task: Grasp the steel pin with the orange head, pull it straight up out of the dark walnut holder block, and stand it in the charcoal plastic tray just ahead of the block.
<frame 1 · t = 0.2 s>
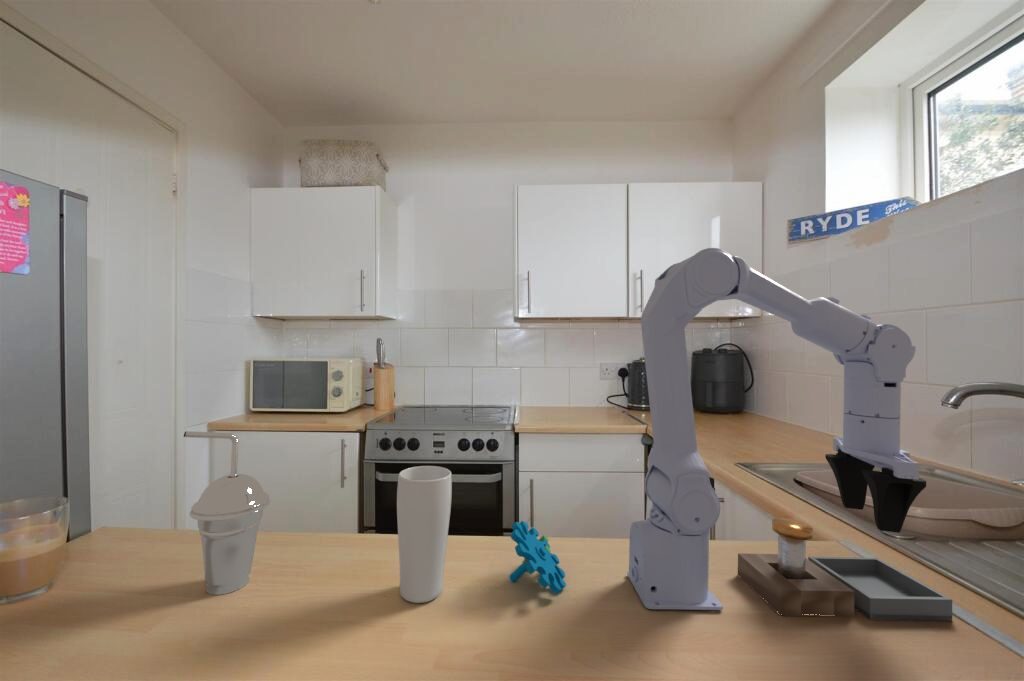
hand: (869, 518, 54), 10 cm above the table, tool pointing down, fingers open, 7 cm apart
tray: (873, 595, 54), on the table
pin: (791, 559, 54), in the holder block
gear: (537, 583, 55), on the table
holder block: (791, 594, 54), on the table
drinking glass: (421, 594, 52), on the table
drinking straw: (225, 586, 52), on the table
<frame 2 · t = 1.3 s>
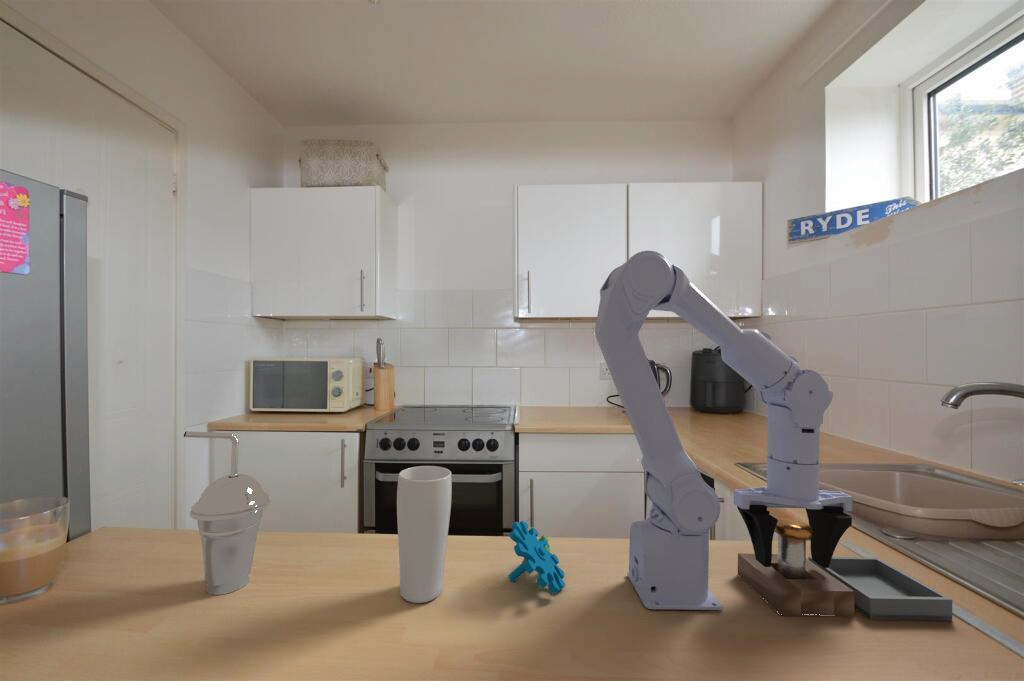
hand: (791, 563, 54), 4 cm above the table, tool pointing down, fingers open, 7 cm apart
nothing on the table moved.
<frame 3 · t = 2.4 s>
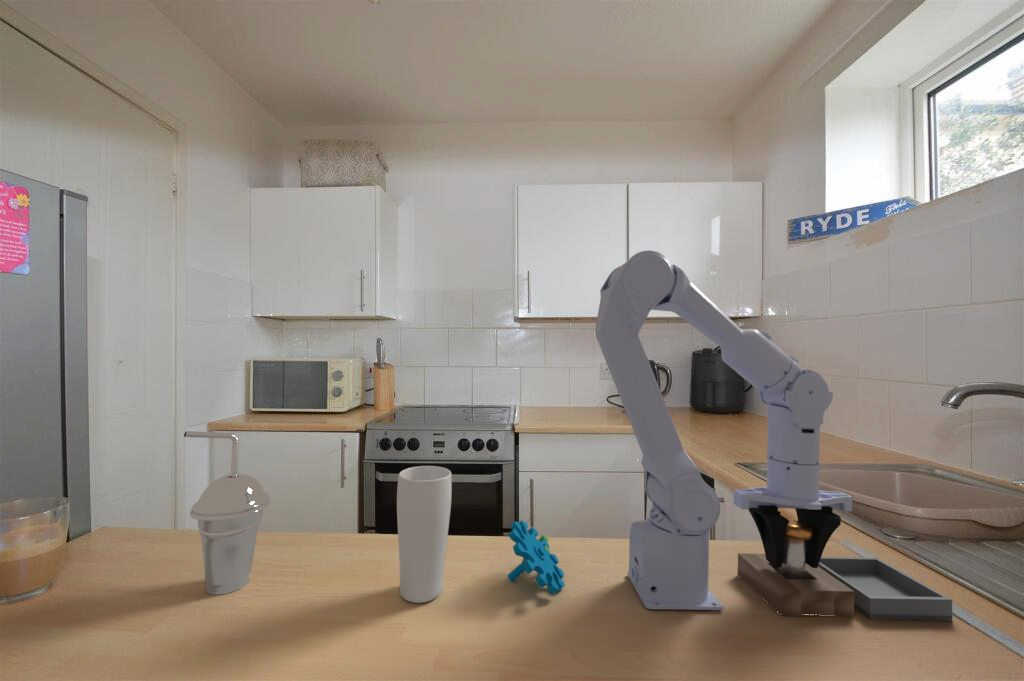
hand: (791, 563, 54), 4 cm above the table, tool pointing down, fingers closed on pin, 4 cm apart
pin: (791, 559, 54), in the holder block, touching gripper
everything else where it was.
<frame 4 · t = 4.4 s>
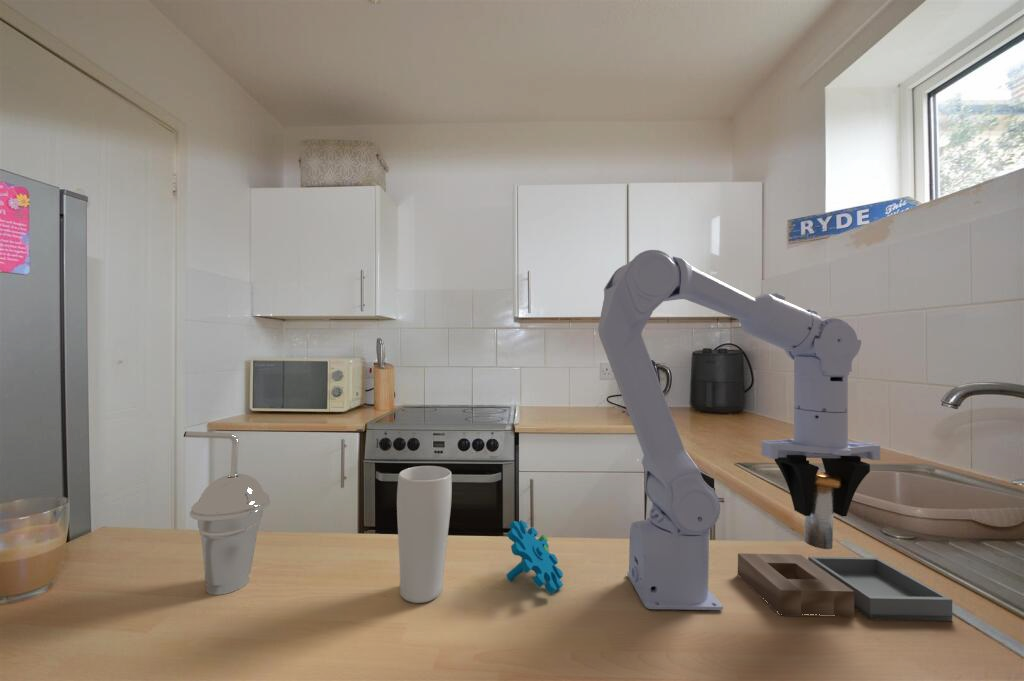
hand: (820, 513, 54), 11 cm above the table, tool pointing down, fingers closed on pin, 4 cm apart
pin: (819, 509, 54), point 11 cm above the table, touching gripper
everything else where it was.
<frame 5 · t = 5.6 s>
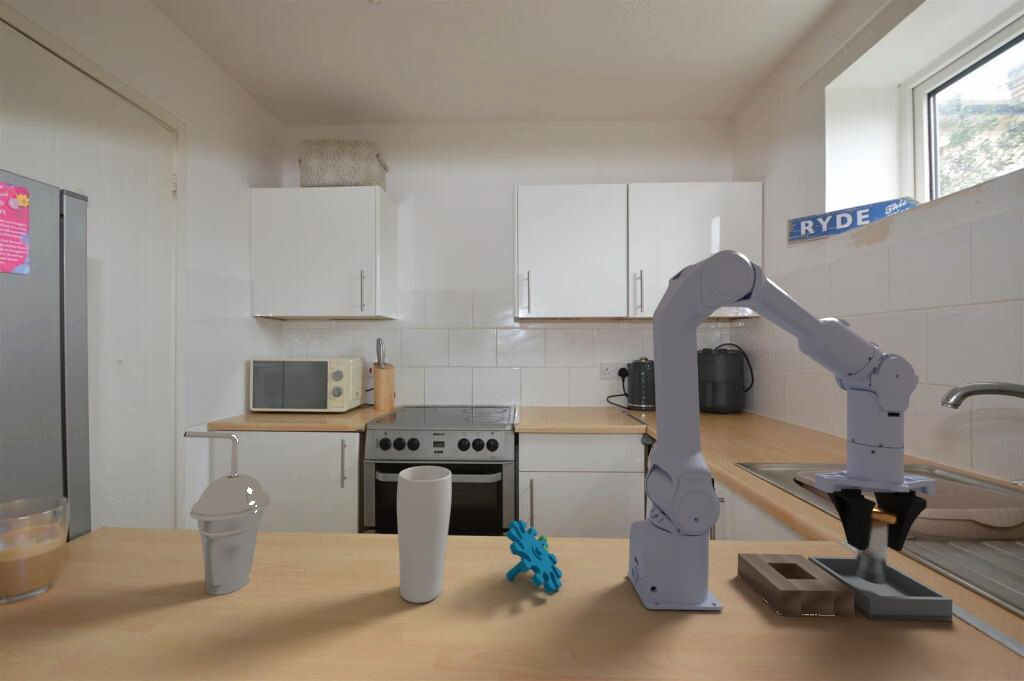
hand: (874, 547, 54), 6 cm above the table, tool pointing down, fingers closed on pin, 4 cm apart
pin: (872, 543, 54), point 7 cm above the table, touching gripper
everything else where it was.
when the fingers open (6 cm above the table, at t = 6.5 s): pin drops 1 cm, resting on tray.
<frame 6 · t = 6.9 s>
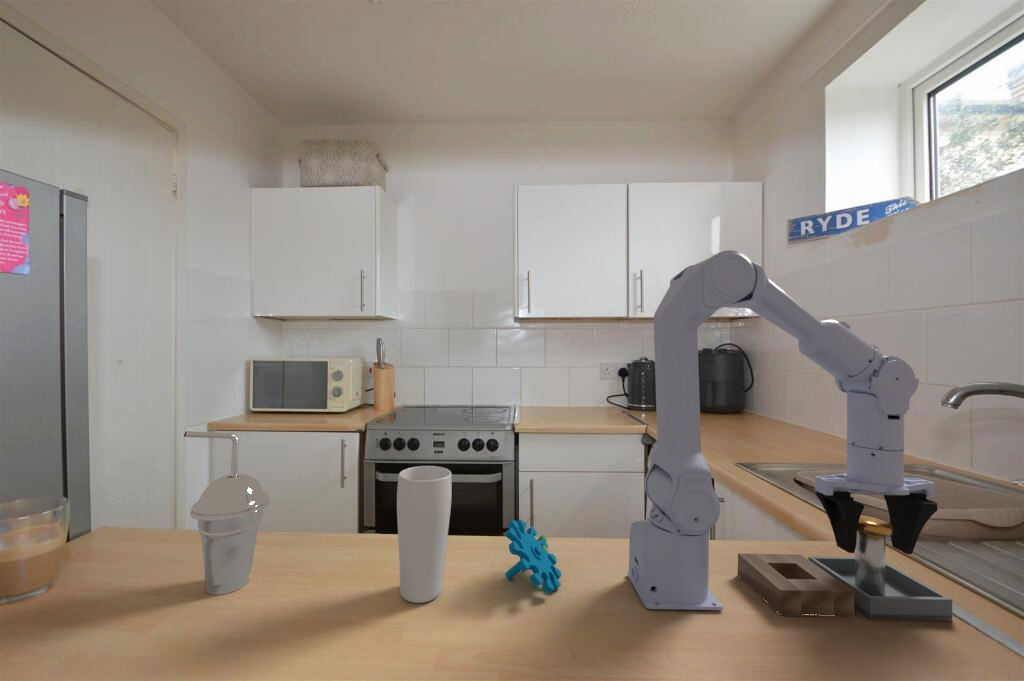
hand: (873, 549, 54), 6 cm above the table, tool pointing down, fingers open, 7 cm apart
pin: (869, 556, 54), in the tray, point 5 cm above the table
everything else where it was.
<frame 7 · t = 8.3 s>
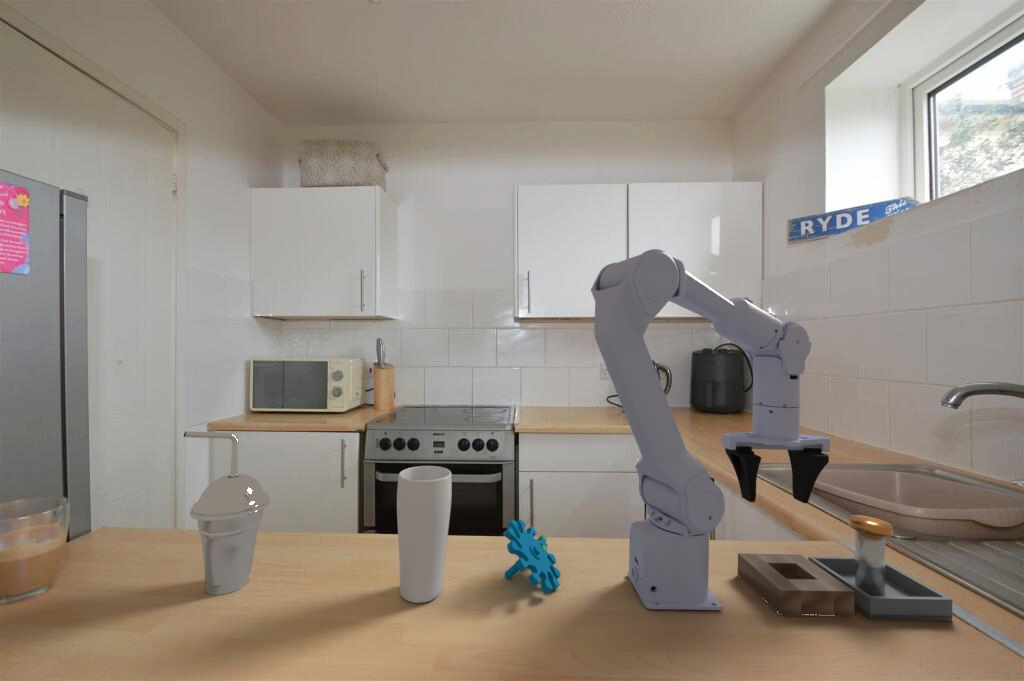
hand: (774, 500, 59), 10 cm above the table, tool pointing down, fingers open, 7 cm apart
nothing on the table moved.
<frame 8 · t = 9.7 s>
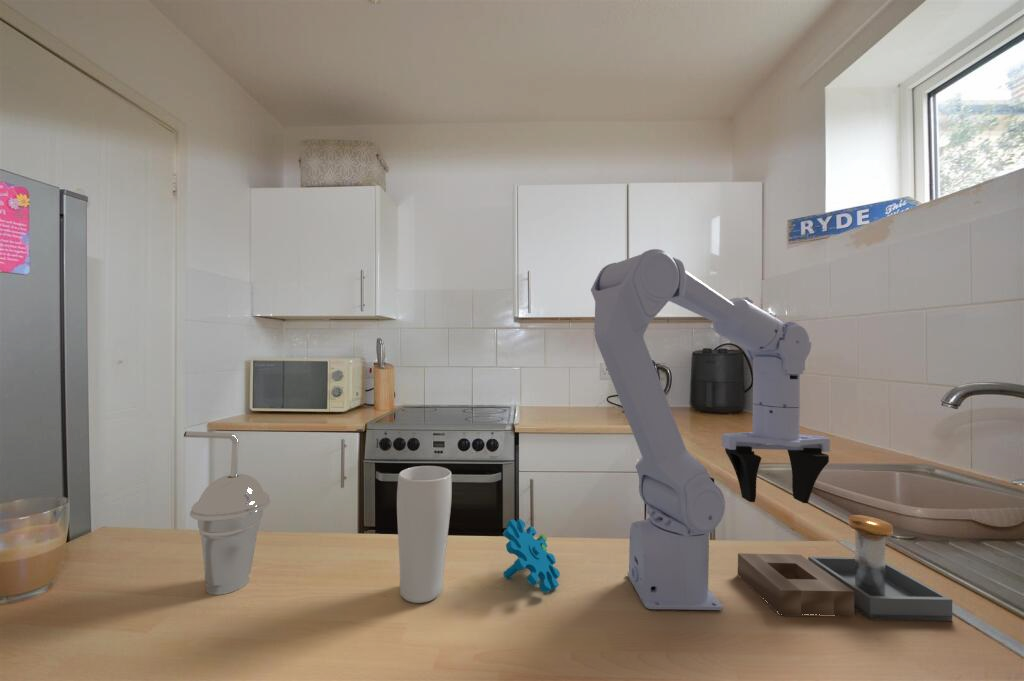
hand: (774, 500, 59), 10 cm above the table, tool pointing down, fingers open, 7 cm apart
nothing on the table moved.
at the end: pin inside the target area on the tray (0.5 cm from its centre), point 5.1 cm above the tray's base; the gripper is holding nothing; pin tilted 0° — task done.
